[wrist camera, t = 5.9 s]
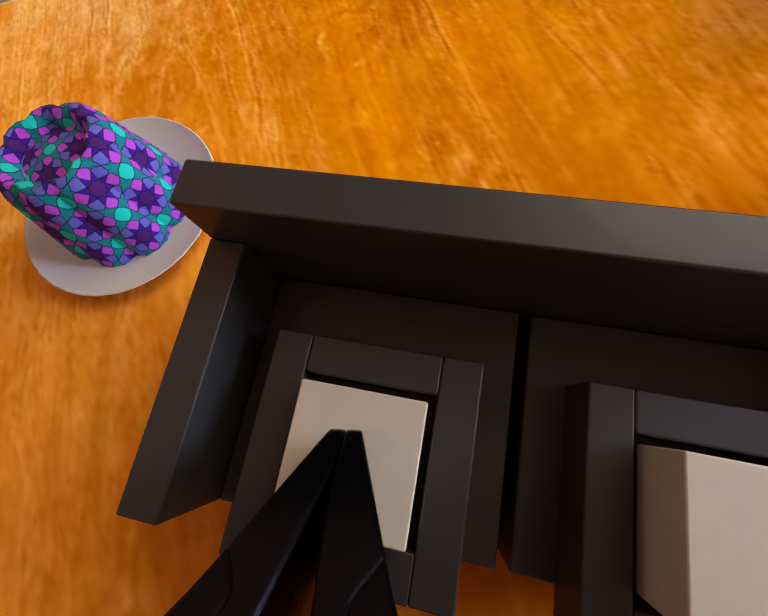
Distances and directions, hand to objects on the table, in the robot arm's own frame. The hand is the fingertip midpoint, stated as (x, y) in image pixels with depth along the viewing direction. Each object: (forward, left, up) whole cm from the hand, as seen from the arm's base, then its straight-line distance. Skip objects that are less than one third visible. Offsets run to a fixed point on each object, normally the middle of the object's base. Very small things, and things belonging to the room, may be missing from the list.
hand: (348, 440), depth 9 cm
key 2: (0, 0, -2) cm, 2 cm away
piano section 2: (+1, 0, -8) cm, 8 cm away
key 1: (0, -9, -2) cm, 10 cm away
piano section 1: (+2, -9, -8) cm, 12 cm away
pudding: (+8, +18, -8) cm, 22 cm away
